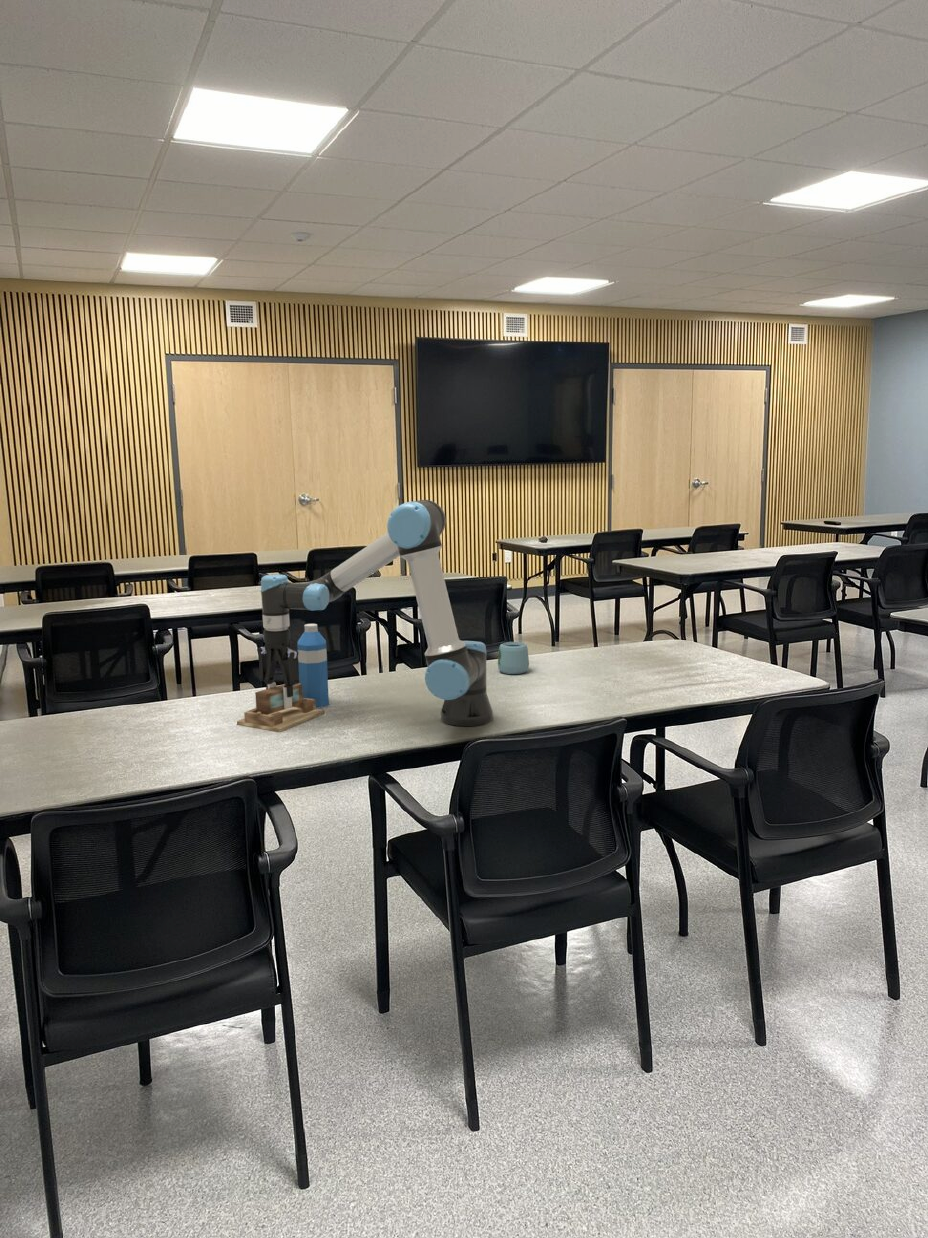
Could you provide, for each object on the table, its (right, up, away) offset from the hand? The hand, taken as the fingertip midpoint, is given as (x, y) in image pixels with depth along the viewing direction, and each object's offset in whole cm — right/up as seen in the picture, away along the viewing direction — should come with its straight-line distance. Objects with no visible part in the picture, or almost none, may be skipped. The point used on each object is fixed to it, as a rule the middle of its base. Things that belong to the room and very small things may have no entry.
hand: (280, 706), depth 263 cm
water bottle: (+7, -1, +16) cm, 18 cm away
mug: (+71, +7, +54) cm, 90 cm away
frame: (0, -1, 0) cm, 1 cm away
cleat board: (0, -4, +1) cm, 4 cm away
